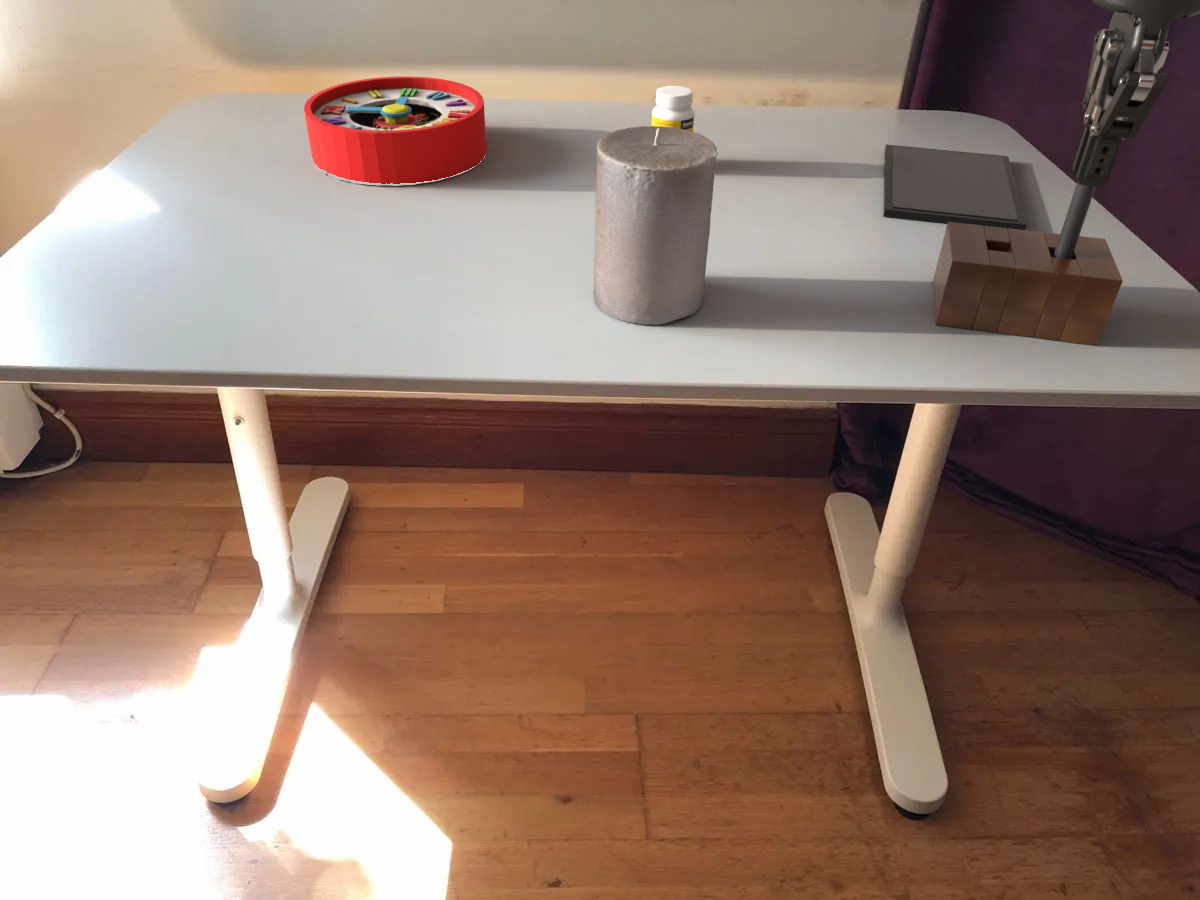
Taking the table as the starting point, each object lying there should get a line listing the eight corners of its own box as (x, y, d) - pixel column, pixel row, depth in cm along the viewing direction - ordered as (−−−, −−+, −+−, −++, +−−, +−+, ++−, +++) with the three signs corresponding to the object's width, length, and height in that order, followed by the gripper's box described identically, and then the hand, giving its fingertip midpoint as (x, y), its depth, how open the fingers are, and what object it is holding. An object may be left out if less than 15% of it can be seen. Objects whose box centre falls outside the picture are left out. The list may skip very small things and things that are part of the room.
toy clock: (469, 135, 99) (279, 129, 100) (473, 189, 103) (290, 183, 104) (494, 78, 115) (330, 74, 116) (497, 126, 119) (338, 122, 119)
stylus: (1061, 279, 81) (1117, 113, 72) (1064, 287, 80) (1121, 119, 71) (1044, 277, 81) (1097, 111, 73) (1046, 285, 80) (1100, 117, 72)
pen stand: (1082, 301, 85) (1105, 238, 81) (1097, 346, 79) (1123, 280, 75) (932, 282, 87) (947, 221, 84) (935, 325, 81) (952, 260, 78)
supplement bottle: (682, 176, 107) (687, 99, 102) (643, 169, 108) (646, 93, 103) (696, 162, 111) (701, 87, 105) (658, 155, 112) (661, 81, 107)
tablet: (1006, 162, 112) (1008, 155, 111) (1024, 232, 96) (1027, 223, 96) (884, 150, 114) (885, 143, 114) (883, 216, 99) (884, 208, 98)
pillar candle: (604, 269, 88) (607, 105, 79) (709, 279, 87) (724, 114, 78) (583, 320, 81) (584, 145, 72) (698, 332, 80) (713, 156, 70)
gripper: (1260, -47, 59) (1158, 219, 69) (1204, -81, 69) (1122, 154, 80) (1129, -53, 60) (1048, 208, 71) (1094, -86, 71) (1028, 145, 81)
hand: (1088, 178), depth 75 cm, fingers closed on stylus, 1 cm apart
